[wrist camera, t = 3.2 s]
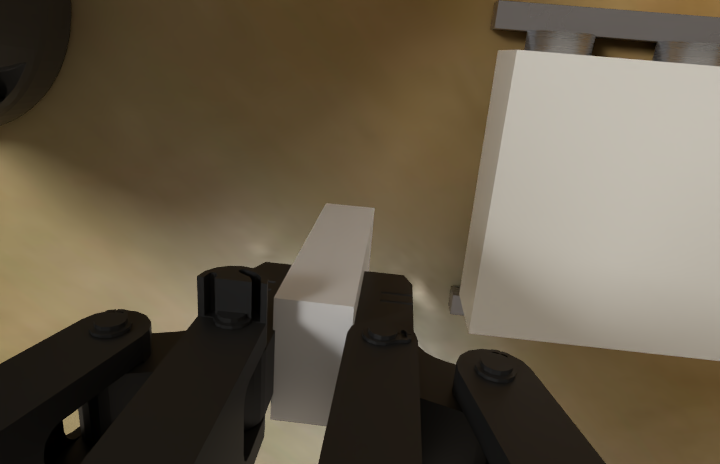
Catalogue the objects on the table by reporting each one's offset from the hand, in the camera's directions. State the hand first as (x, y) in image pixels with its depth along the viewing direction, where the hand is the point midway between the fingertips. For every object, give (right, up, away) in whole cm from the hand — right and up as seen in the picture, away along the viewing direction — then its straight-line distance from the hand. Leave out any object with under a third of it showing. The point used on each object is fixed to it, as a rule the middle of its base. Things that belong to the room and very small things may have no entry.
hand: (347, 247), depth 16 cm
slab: (+15, +2, +8) cm, 17 cm away
